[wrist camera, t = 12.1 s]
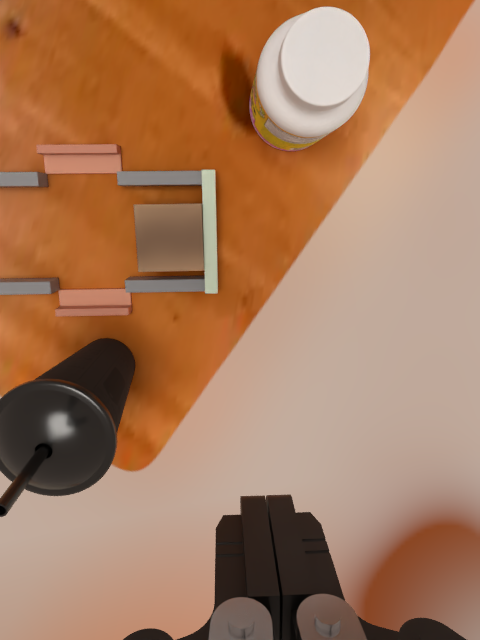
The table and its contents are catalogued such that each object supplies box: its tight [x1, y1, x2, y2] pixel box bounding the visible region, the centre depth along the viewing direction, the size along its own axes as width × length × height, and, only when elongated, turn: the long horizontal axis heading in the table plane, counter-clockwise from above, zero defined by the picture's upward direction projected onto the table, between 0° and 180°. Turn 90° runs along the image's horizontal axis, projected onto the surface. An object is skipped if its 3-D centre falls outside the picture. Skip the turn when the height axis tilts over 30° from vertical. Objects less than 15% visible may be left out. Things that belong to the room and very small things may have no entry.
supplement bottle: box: [249, 7, 370, 151], centre depth 29 cm, size 7×7×13 cm
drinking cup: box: [0, 338, 135, 517], centre depth 30 cm, size 8×8×20 cm
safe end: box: [202, 170, 218, 294], centre depth 36 cm, size 9×1×3 cm, turn 1°
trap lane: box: [0, 144, 205, 316], centre depth 36 cm, size 13×20×2 cm
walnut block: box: [134, 204, 204, 272], centre depth 36 cm, size 5×5×4 cm
